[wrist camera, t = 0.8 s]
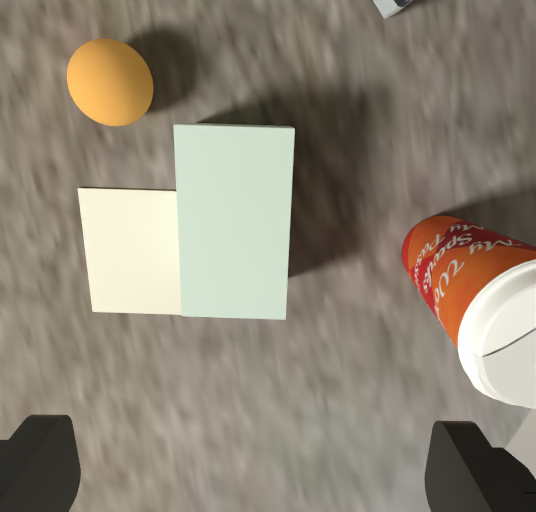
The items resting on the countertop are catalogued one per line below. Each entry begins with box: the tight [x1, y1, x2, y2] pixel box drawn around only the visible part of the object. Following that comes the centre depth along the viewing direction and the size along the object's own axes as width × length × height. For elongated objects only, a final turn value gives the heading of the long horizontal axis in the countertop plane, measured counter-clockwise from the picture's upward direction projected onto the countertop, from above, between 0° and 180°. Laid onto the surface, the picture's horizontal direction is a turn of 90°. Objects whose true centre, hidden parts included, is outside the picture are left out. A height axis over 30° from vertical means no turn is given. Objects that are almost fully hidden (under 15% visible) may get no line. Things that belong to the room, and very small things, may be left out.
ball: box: [67, 38, 153, 126], centre depth 25 cm, size 5×5×5 cm
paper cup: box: [402, 216, 536, 409], centre depth 25 cm, size 8×8×14 cm
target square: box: [78, 188, 182, 315], centre depth 32 cm, size 10×8×1 cm
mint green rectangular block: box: [174, 123, 295, 319], centre depth 27 cm, size 12×7×7 cm, turn 178°
